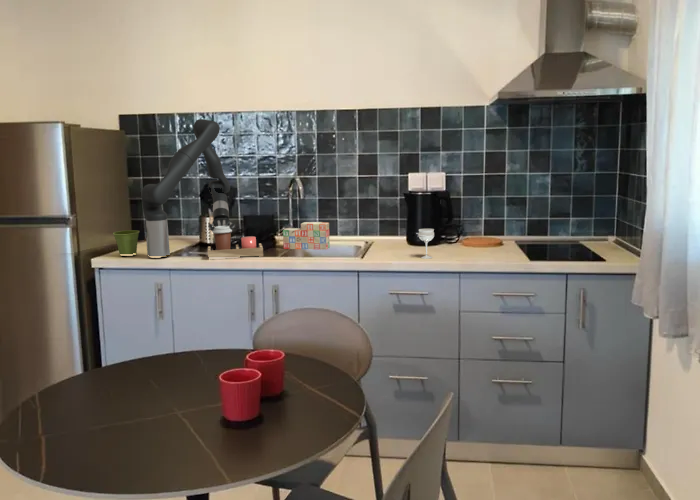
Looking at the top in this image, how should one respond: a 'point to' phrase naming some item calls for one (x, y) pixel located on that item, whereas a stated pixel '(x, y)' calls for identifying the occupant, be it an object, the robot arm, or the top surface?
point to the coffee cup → (222, 237)
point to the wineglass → (426, 238)
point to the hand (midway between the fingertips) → (222, 240)
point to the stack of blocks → (307, 236)
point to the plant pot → (127, 241)
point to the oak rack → (236, 252)
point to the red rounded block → (248, 242)
